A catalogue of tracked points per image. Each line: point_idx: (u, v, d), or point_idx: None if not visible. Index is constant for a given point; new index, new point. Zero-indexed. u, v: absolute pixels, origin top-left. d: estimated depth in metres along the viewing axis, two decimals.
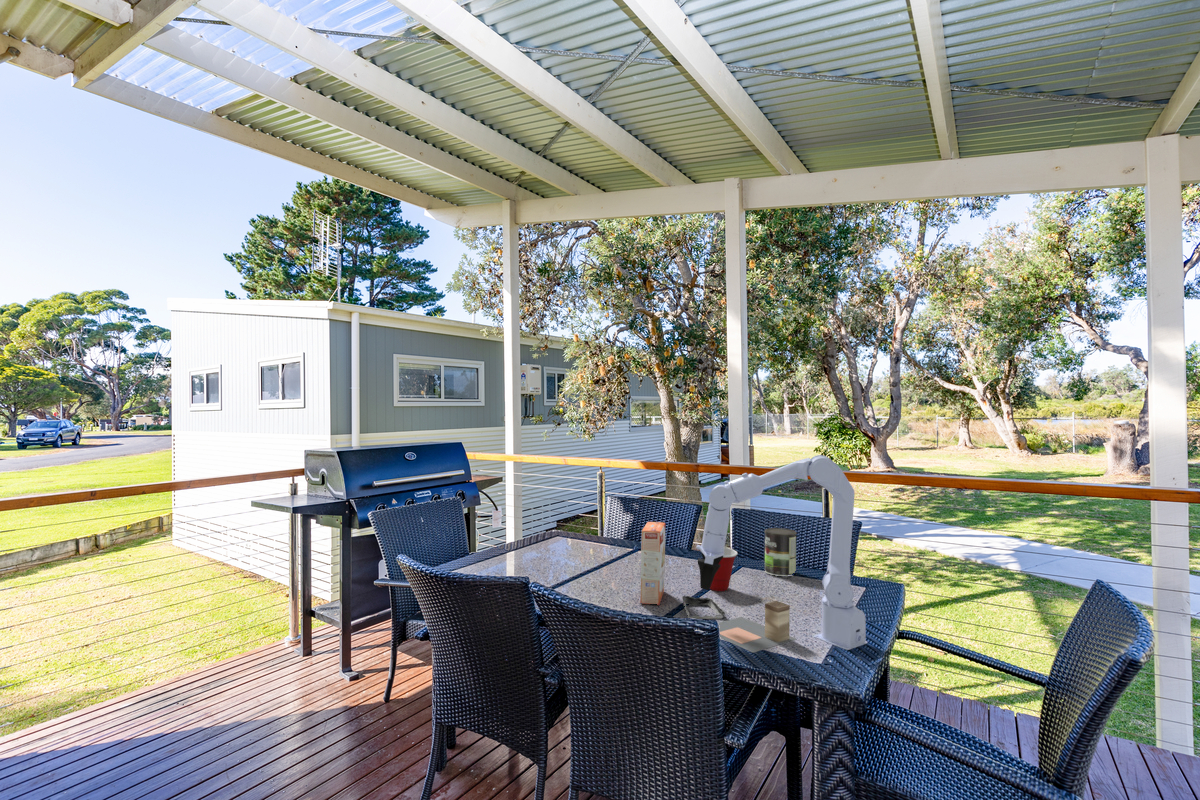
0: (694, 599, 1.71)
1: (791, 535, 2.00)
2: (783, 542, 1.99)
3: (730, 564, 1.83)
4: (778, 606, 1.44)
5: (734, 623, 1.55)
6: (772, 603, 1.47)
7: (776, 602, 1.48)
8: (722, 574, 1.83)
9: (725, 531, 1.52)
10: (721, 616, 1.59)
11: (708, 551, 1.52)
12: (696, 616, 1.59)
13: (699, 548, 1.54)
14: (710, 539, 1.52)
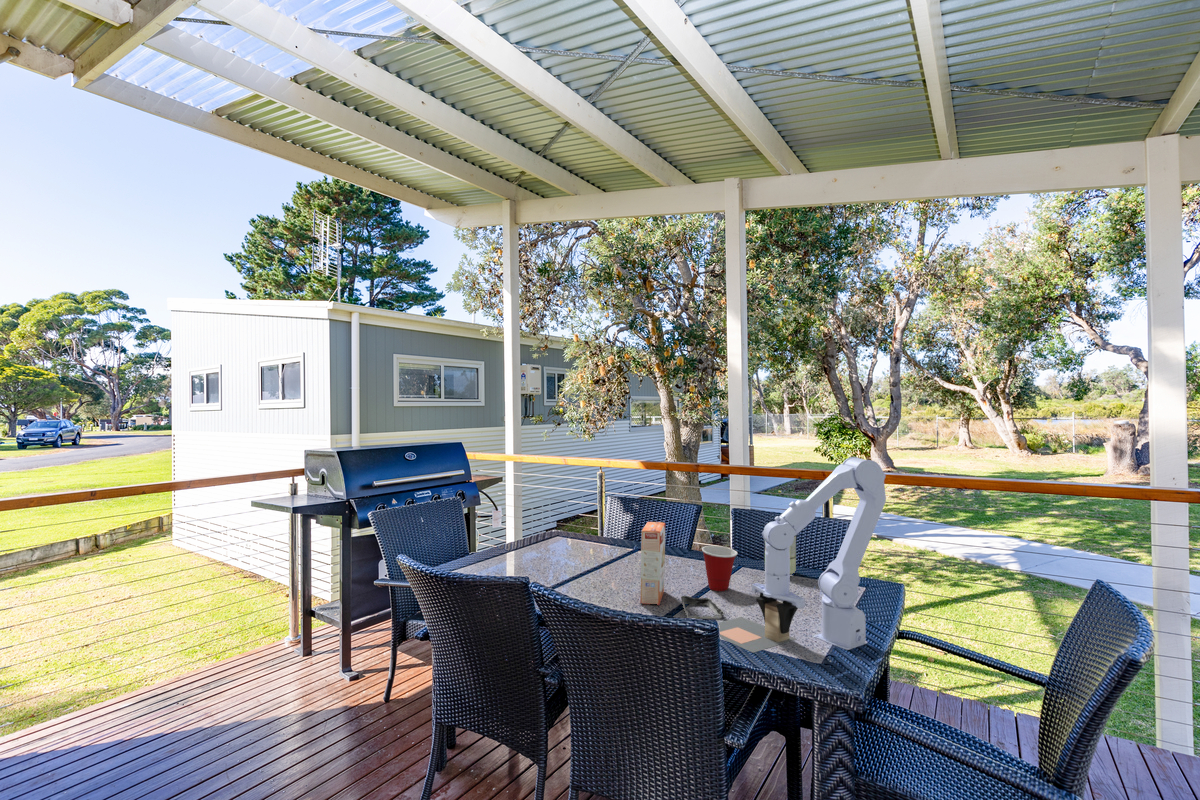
0: (693, 599, 1.71)
1: None
2: None
3: (730, 564, 1.83)
4: None
5: (734, 623, 1.55)
6: (772, 603, 1.47)
7: (776, 602, 1.48)
8: (722, 574, 1.83)
9: (789, 570, 1.45)
10: (720, 616, 1.59)
11: (784, 595, 1.43)
12: (695, 616, 1.59)
13: (771, 595, 1.43)
14: (784, 582, 1.43)
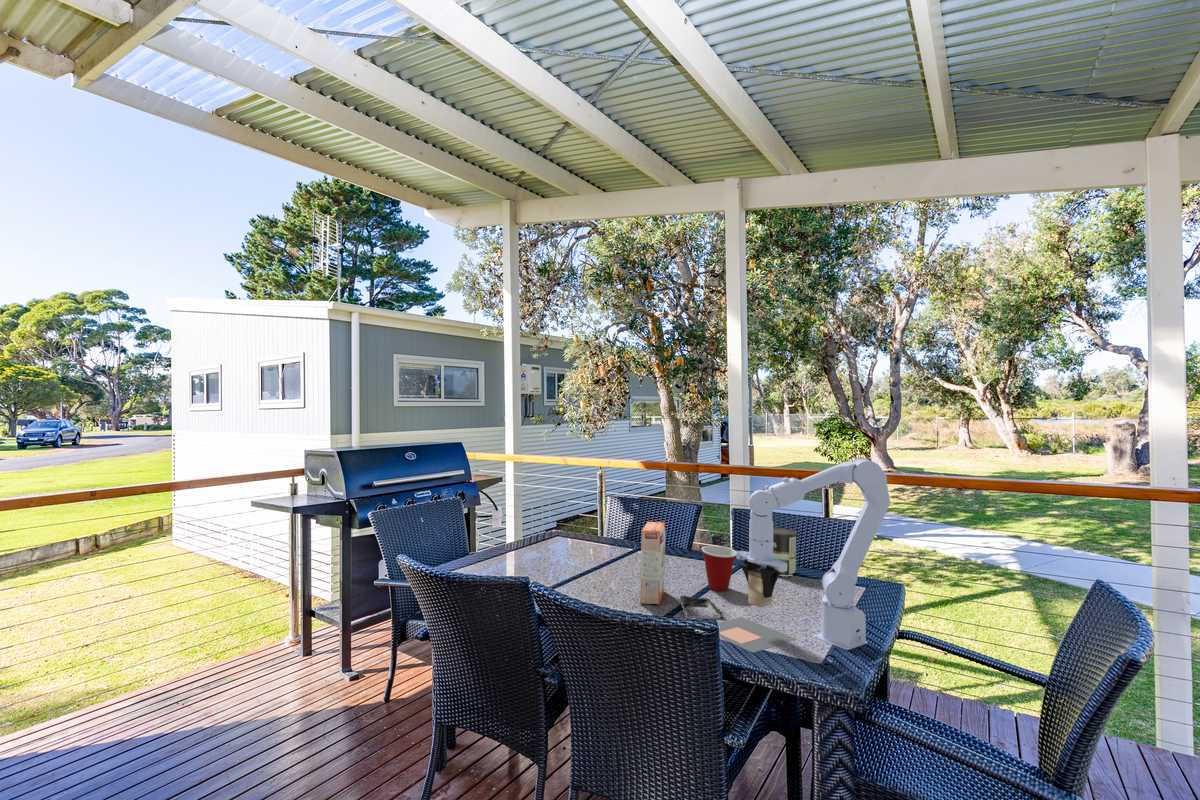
0: (691, 599, 1.71)
1: (791, 535, 2.00)
2: (783, 542, 1.99)
3: (730, 564, 1.83)
4: None
5: (734, 623, 1.55)
6: (755, 570, 1.51)
7: (759, 569, 1.52)
8: (722, 574, 1.83)
9: (771, 536, 1.49)
10: (719, 616, 1.59)
11: (768, 560, 1.48)
12: (694, 616, 1.59)
13: (755, 560, 1.48)
14: (767, 547, 1.48)
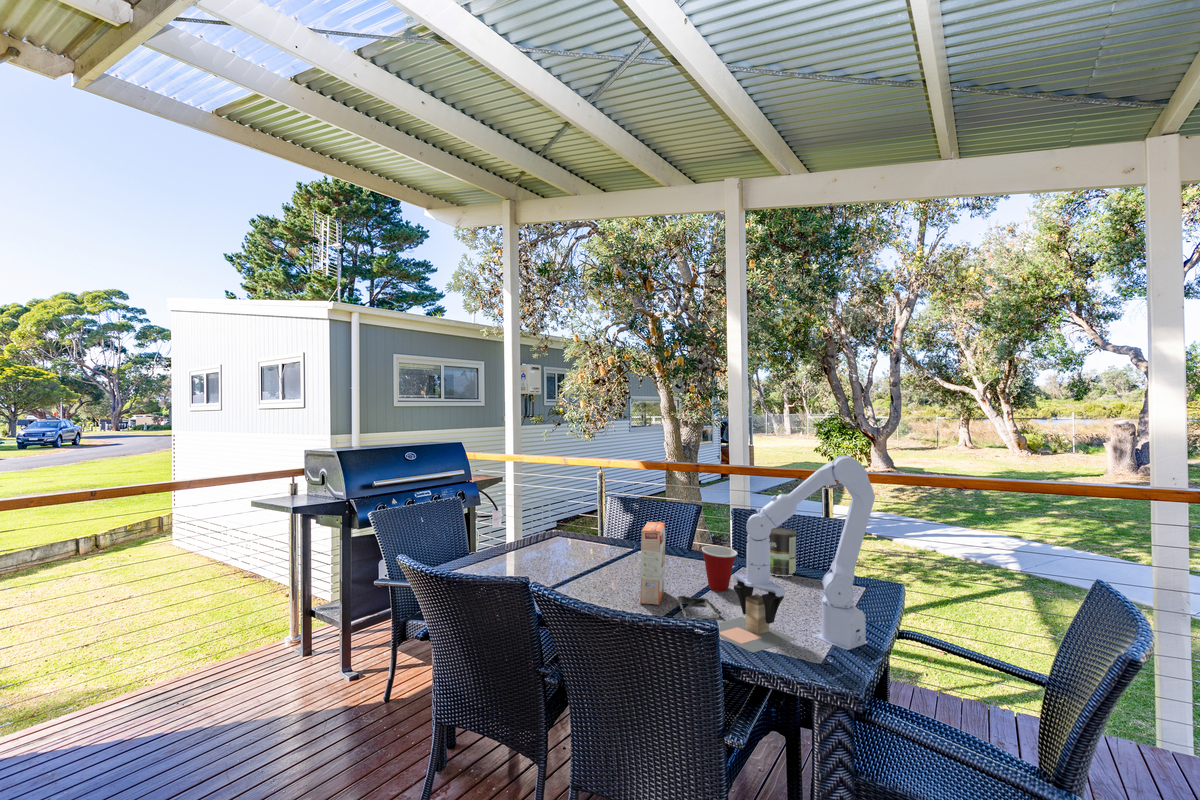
0: (690, 599, 1.71)
1: (791, 535, 2.00)
2: (783, 542, 1.99)
3: (730, 564, 1.83)
4: (758, 599, 1.49)
5: (734, 623, 1.55)
6: (753, 596, 1.52)
7: (757, 595, 1.52)
8: (722, 574, 1.83)
9: (768, 560, 1.49)
10: (717, 616, 1.59)
11: (765, 584, 1.48)
12: (693, 616, 1.59)
13: (752, 585, 1.48)
14: (764, 571, 1.48)
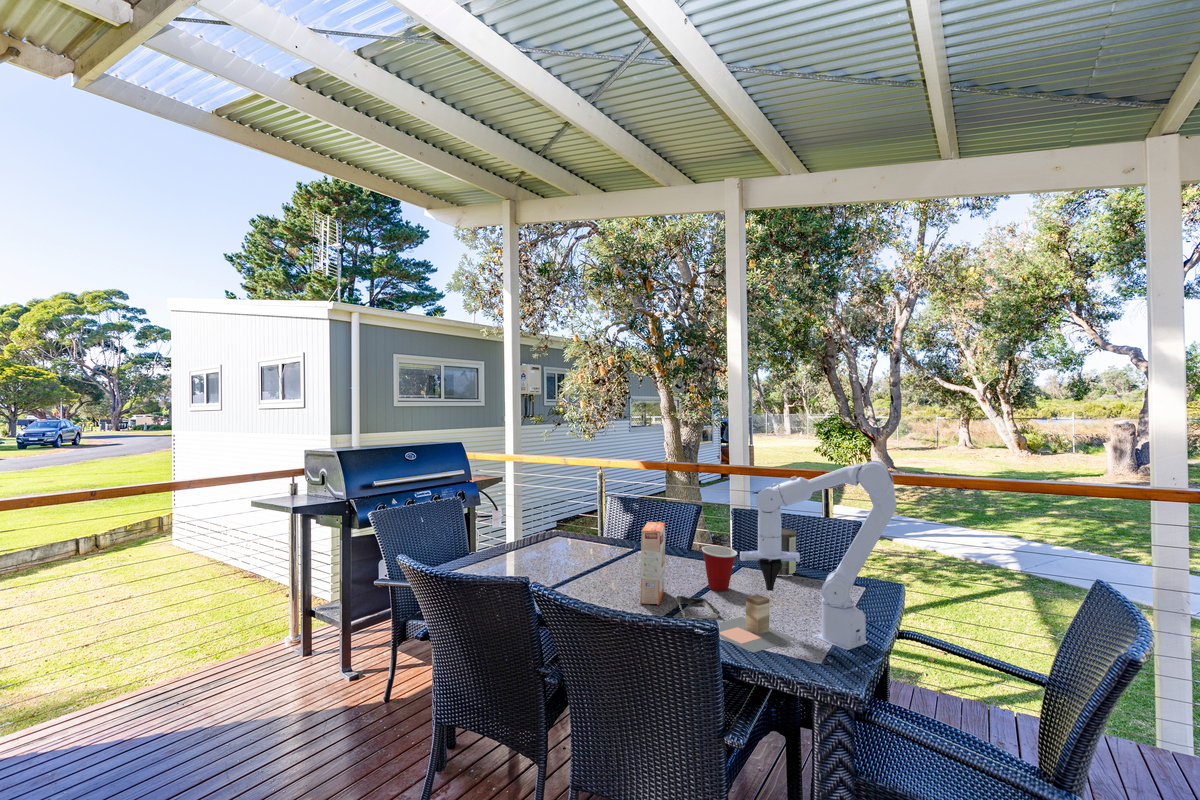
0: (688, 599, 1.71)
1: (791, 535, 2.00)
2: (783, 542, 1.99)
3: (730, 564, 1.83)
4: (758, 599, 1.49)
5: (734, 623, 1.55)
6: (753, 596, 1.52)
7: (757, 595, 1.52)
8: (722, 574, 1.83)
9: (778, 533, 1.51)
10: (716, 615, 1.59)
11: (781, 554, 1.52)
12: (691, 616, 1.59)
13: (776, 557, 1.50)
14: None
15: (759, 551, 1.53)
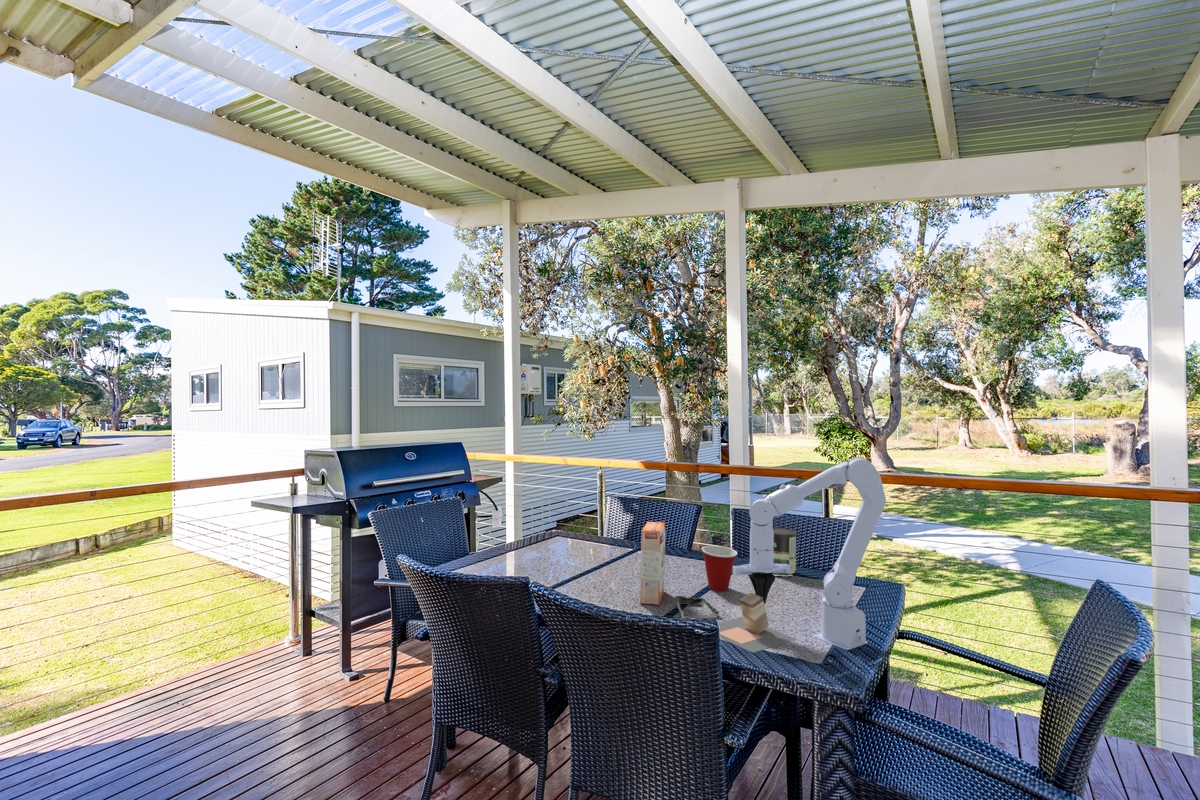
0: (687, 599, 1.71)
1: (791, 535, 2.00)
2: (783, 542, 1.99)
3: (730, 564, 1.83)
4: (752, 601, 1.48)
5: (734, 623, 1.55)
6: (746, 597, 1.50)
7: (750, 595, 1.51)
8: (722, 574, 1.83)
9: (771, 546, 1.50)
10: (715, 615, 1.59)
11: (773, 566, 1.52)
12: (690, 616, 1.59)
13: None
14: None
15: (752, 565, 1.50)
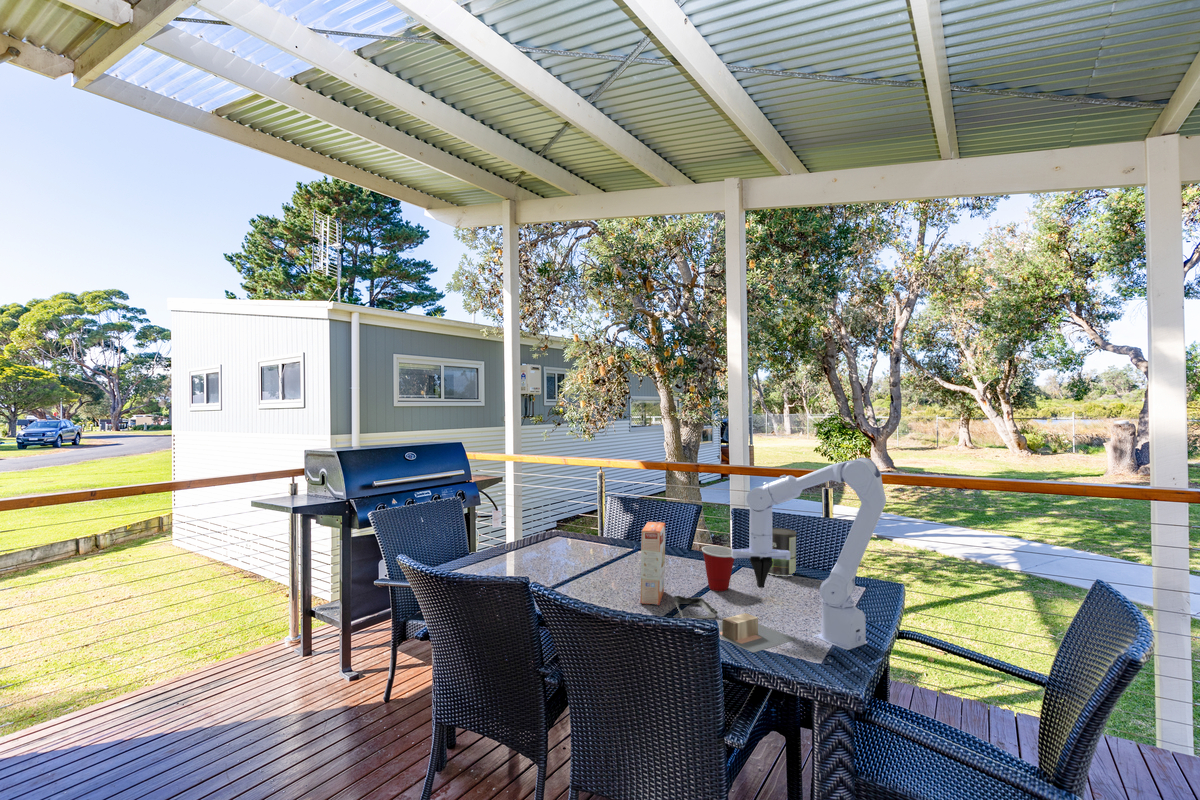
0: (685, 599, 1.71)
1: (791, 535, 2.00)
2: (783, 542, 1.99)
3: (730, 564, 1.83)
4: (732, 635, 1.44)
5: None
6: (725, 629, 1.46)
7: (725, 624, 1.46)
8: (722, 574, 1.83)
9: (768, 531, 1.54)
10: (714, 615, 1.59)
11: (772, 551, 1.55)
12: (689, 616, 1.59)
13: (767, 554, 1.53)
14: None
15: (750, 549, 1.56)
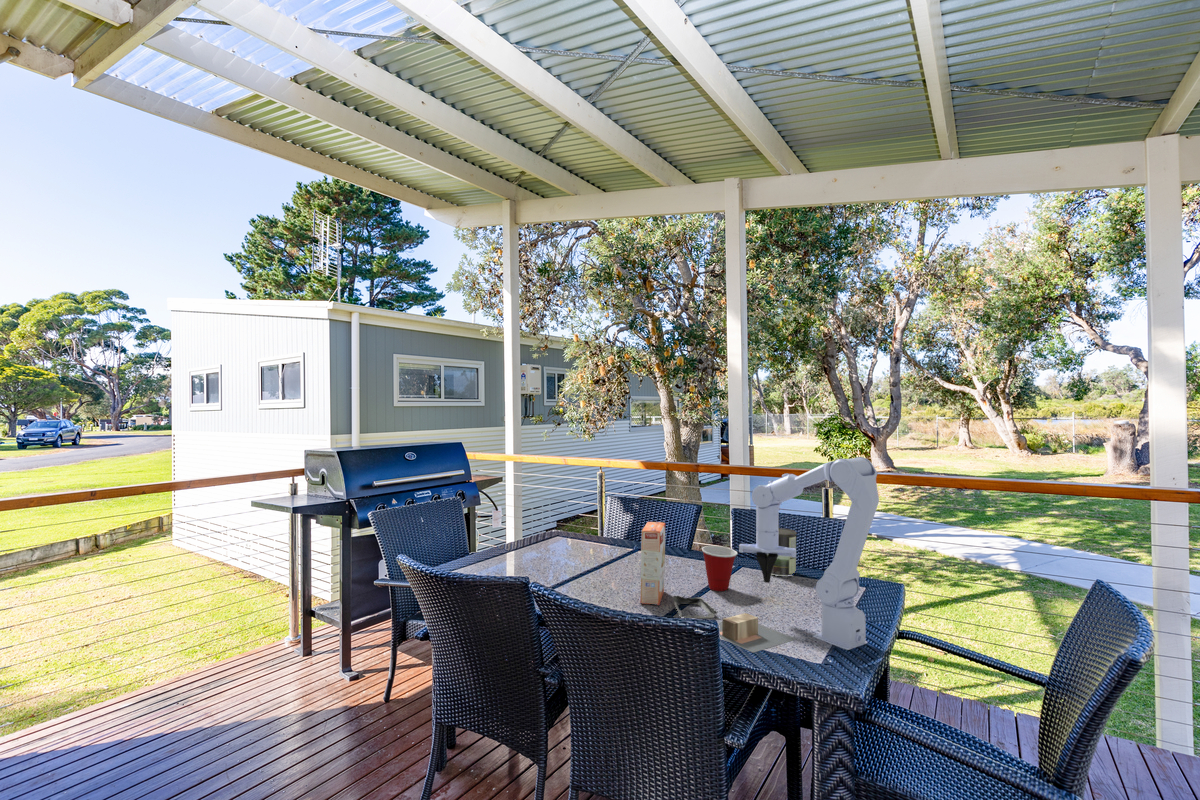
0: (684, 599, 1.71)
1: (791, 535, 2.00)
2: (783, 542, 1.99)
3: (730, 564, 1.83)
4: (732, 635, 1.44)
5: None
6: (725, 629, 1.46)
7: (725, 624, 1.46)
8: (722, 574, 1.83)
9: (772, 528, 1.59)
10: (713, 615, 1.59)
11: (778, 548, 1.60)
12: (688, 616, 1.59)
13: (770, 551, 1.58)
14: (777, 537, 1.60)
15: (756, 544, 1.62)
